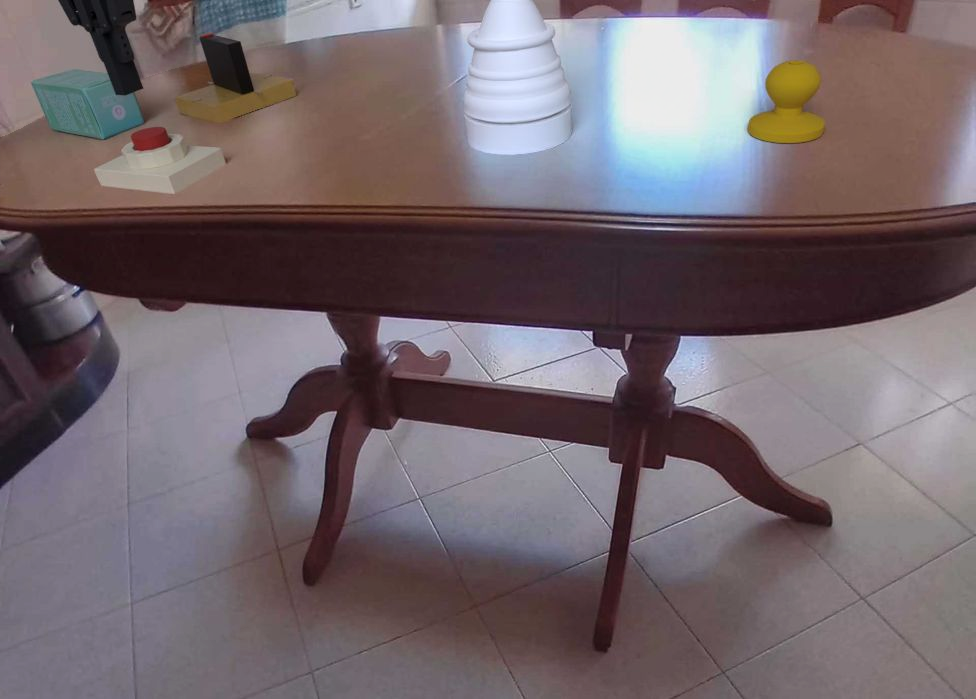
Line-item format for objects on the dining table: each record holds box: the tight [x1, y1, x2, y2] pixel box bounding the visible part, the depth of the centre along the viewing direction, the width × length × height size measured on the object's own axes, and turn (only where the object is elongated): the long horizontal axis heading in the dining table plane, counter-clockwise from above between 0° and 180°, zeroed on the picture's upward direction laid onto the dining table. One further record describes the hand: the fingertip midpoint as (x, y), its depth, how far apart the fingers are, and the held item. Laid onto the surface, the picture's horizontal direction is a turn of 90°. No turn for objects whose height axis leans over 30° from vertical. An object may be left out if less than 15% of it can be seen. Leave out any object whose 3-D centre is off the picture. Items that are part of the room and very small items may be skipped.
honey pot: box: [462, 0, 573, 156], centre depth 81 cm, size 13×13×18 cm
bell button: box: [130, 126, 171, 151], centre depth 83 cm, size 4×4×2 cm
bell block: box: [93, 132, 227, 195], centre depth 85 cm, size 12×9×4 cm
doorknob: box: [747, 59, 826, 144], centre depth 77 cm, size 8×8×8 cm
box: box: [30, 68, 145, 141], centre depth 103 cm, size 7×14×8 cm, turn 59°
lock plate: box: [173, 72, 297, 124], centre depth 108 cm, size 14×14×3 cm
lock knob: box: [199, 32, 254, 95], centre depth 105 cm, size 10×2×7 cm, turn 42°
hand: (129, 91), depth 80 cm, fingers closed
